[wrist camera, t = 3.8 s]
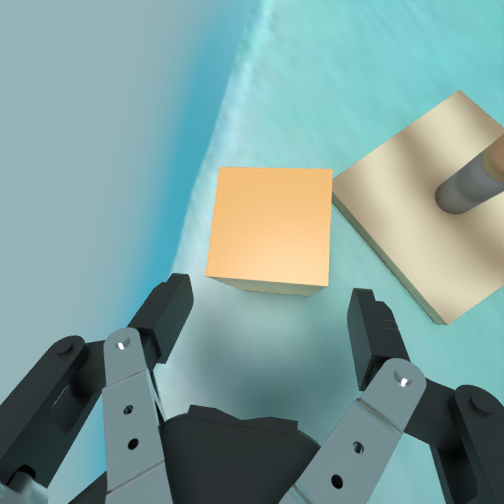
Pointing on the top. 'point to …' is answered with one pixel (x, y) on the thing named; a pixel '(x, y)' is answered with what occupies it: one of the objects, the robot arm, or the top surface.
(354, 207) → the post board
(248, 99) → the top surface
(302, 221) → the tall orange pillar
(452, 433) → the robot arm
